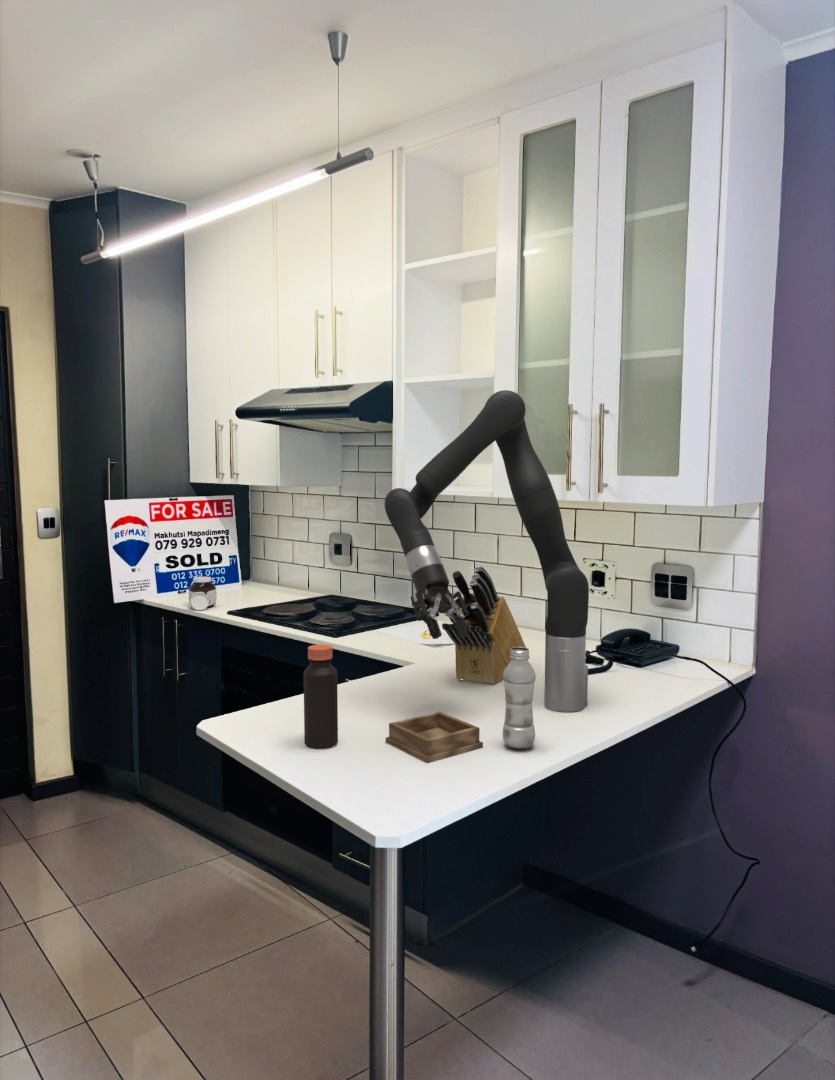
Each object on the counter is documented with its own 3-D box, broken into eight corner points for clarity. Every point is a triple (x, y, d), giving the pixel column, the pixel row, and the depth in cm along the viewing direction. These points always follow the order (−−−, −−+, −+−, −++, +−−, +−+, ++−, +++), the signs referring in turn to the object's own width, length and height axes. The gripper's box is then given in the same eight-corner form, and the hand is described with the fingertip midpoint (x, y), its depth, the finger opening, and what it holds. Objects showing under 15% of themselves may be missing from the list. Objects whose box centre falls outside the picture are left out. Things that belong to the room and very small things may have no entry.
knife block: (437, 689, 202) (438, 567, 199) (492, 658, 233) (493, 552, 230) (478, 695, 197) (480, 570, 194) (529, 663, 228) (530, 554, 225)
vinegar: (321, 735, 168) (320, 641, 166) (345, 743, 164) (344, 646, 162) (297, 744, 163) (295, 647, 161) (320, 752, 158) (319, 652, 156)
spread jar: (210, 604, 320) (209, 575, 319) (223, 608, 312) (222, 578, 310) (181, 608, 313) (180, 578, 311) (194, 612, 304) (193, 581, 303)
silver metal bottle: (518, 755, 157) (519, 654, 155) (495, 745, 162) (496, 648, 160) (542, 748, 161) (543, 650, 159) (518, 738, 166) (520, 643, 164)
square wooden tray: (439, 728, 172) (439, 710, 172) (482, 747, 161) (483, 728, 161) (385, 742, 164) (385, 723, 164) (427, 763, 153) (427, 742, 153)
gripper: (415, 561, 171) (440, 630, 165) (459, 563, 182) (484, 628, 175) (393, 577, 176) (416, 645, 170) (437, 578, 186) (461, 643, 180)
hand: (451, 636), depth 173 cm, fingers open, 8 cm apart
